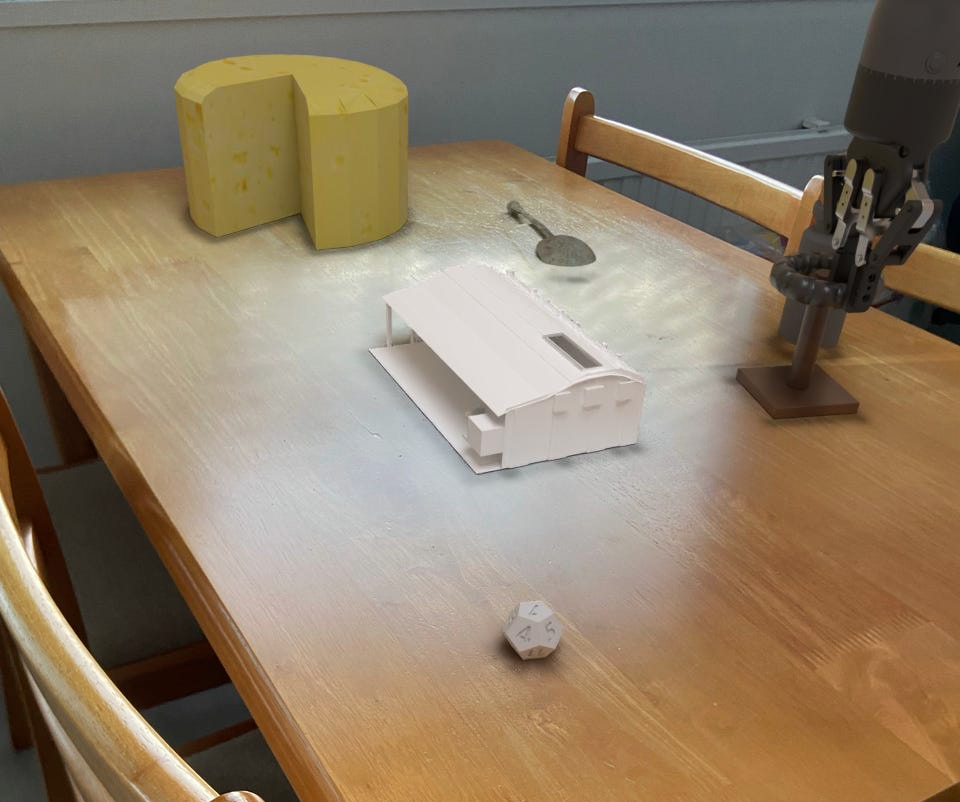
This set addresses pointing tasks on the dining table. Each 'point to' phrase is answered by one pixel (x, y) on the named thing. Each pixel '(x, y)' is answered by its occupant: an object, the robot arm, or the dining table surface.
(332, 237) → the cheese
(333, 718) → the dining table surface
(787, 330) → the bottle
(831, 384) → the peg stand
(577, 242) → the soupspoon
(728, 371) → the dining table surface
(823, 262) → the ring
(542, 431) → the toy hangar
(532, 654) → the game die
